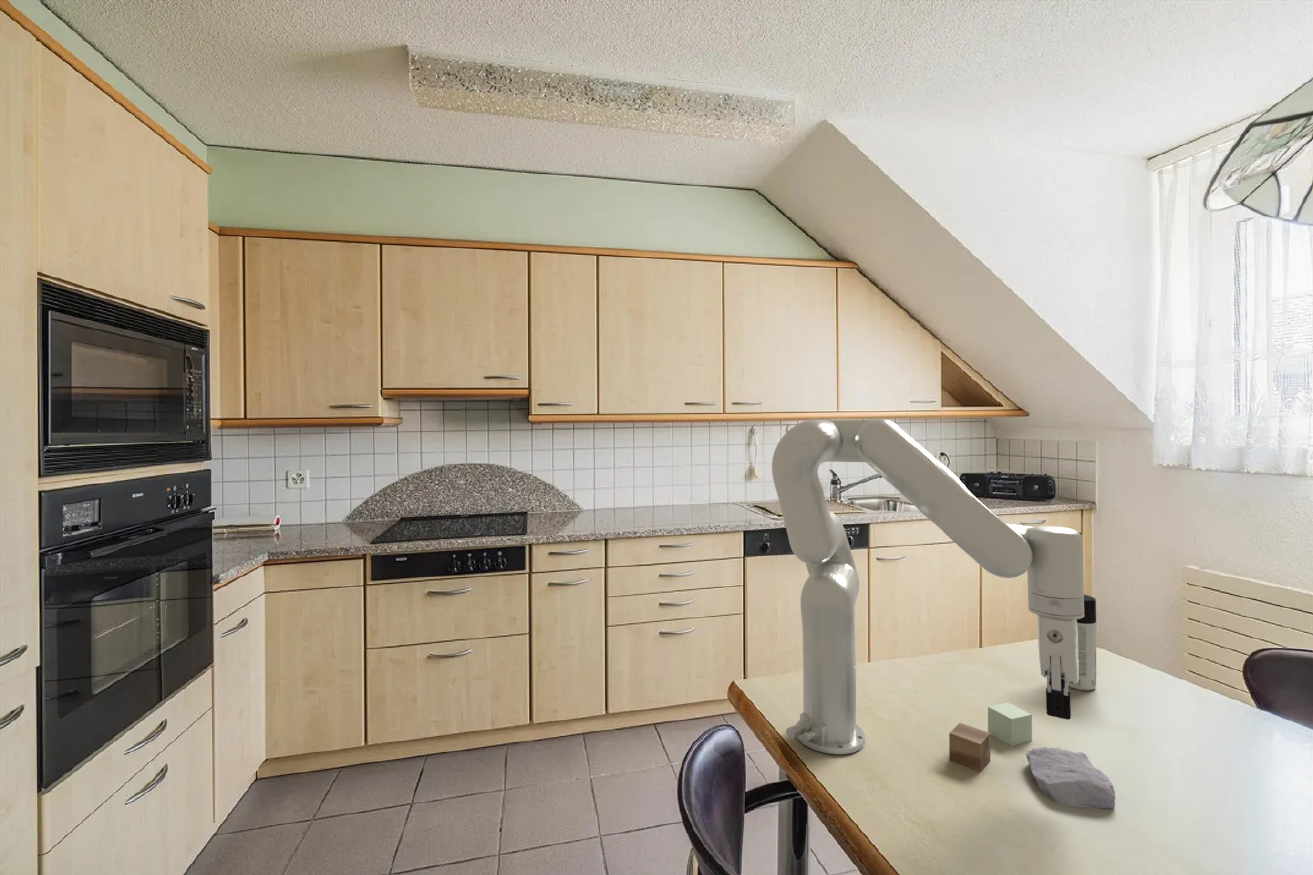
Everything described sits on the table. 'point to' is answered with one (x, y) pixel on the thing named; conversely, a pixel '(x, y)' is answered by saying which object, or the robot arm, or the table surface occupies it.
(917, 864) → the table surface
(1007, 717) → the sage block
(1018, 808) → the table surface
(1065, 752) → the stone block
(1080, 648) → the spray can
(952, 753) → the walnut block
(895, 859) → the table surface
